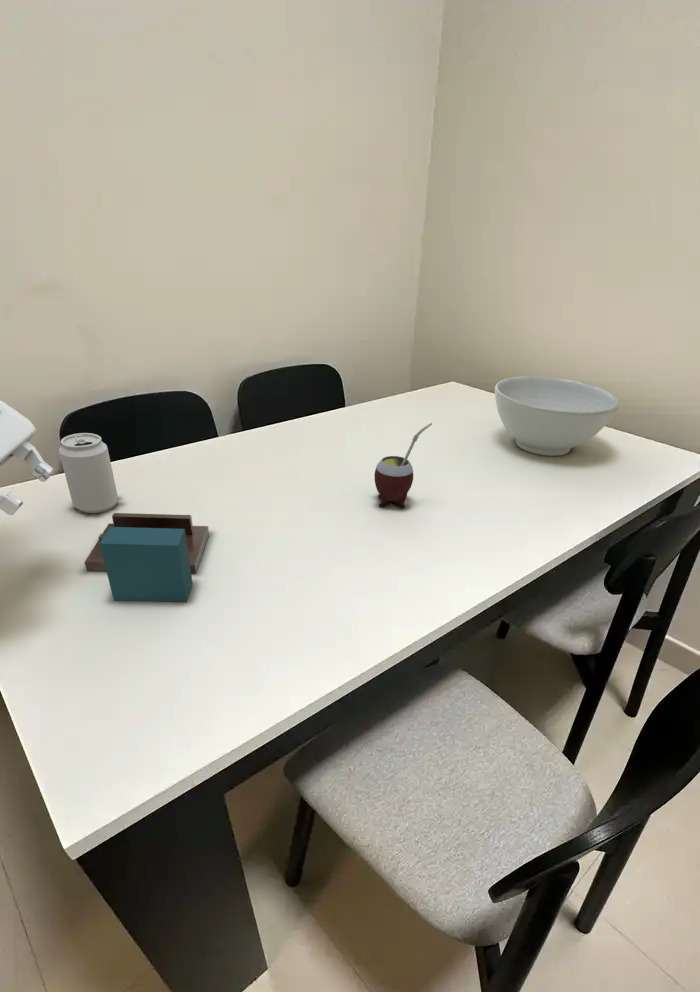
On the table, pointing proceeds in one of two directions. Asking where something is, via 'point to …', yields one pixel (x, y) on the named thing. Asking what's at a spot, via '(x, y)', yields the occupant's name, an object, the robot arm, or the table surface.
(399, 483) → the mate gourd
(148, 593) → the back pad
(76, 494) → the can
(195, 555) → the board
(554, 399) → the decorative bowl
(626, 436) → the table surface
